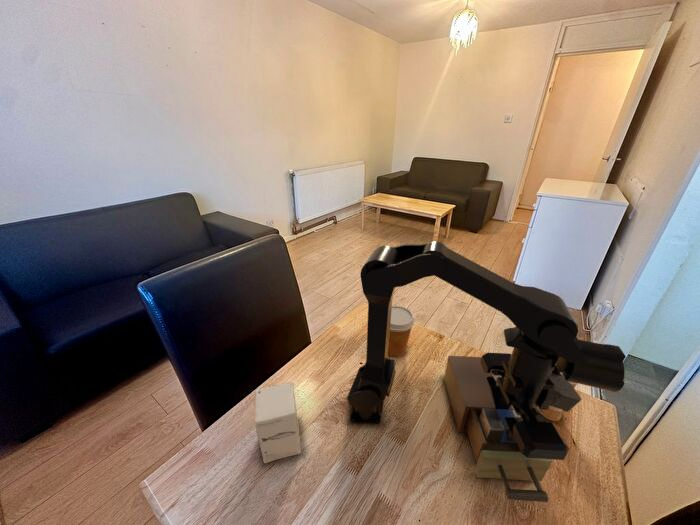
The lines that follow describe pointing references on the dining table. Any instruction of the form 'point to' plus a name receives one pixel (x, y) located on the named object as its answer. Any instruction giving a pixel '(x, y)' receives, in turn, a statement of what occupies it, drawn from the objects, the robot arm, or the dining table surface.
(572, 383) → the sprinkles bottle
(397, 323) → the orange tub
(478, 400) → the cabinet
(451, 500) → the dining table surface
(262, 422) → the white packaging box
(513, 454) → the drawer
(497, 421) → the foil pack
